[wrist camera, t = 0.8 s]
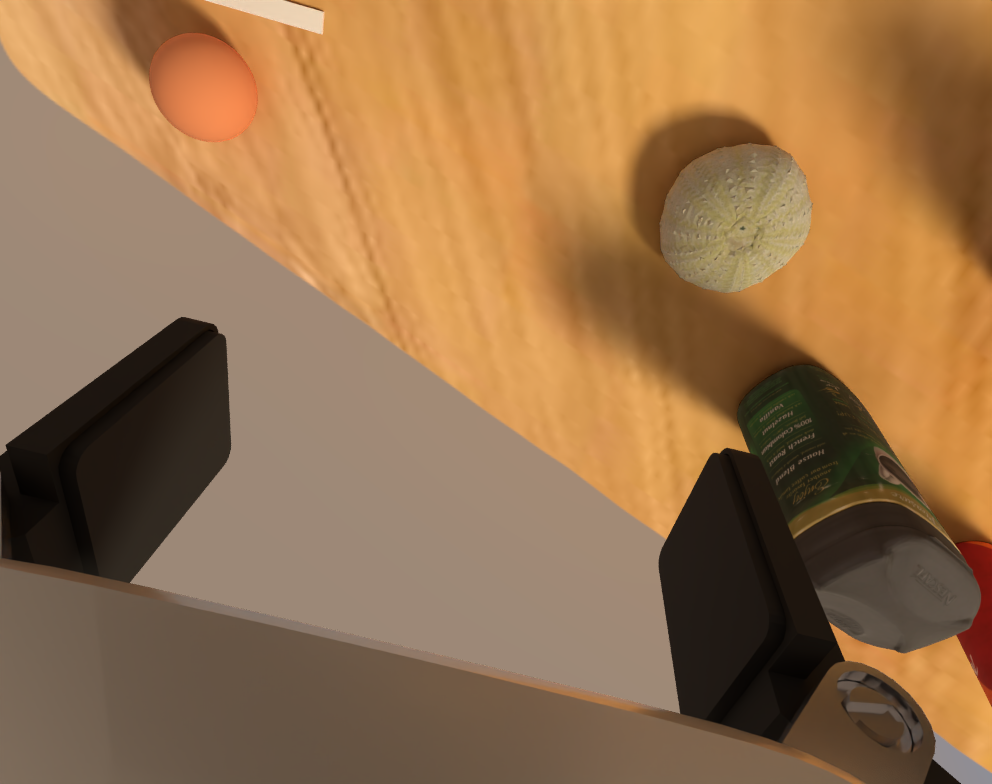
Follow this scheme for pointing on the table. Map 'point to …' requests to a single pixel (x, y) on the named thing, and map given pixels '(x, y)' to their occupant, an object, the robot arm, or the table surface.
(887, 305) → the table surface
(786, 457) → the coffee jar
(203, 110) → the ball
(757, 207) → the sea urchin shell
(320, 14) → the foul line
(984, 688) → the coffee cup
